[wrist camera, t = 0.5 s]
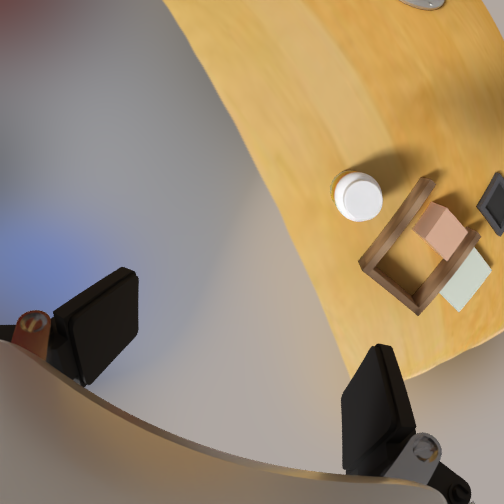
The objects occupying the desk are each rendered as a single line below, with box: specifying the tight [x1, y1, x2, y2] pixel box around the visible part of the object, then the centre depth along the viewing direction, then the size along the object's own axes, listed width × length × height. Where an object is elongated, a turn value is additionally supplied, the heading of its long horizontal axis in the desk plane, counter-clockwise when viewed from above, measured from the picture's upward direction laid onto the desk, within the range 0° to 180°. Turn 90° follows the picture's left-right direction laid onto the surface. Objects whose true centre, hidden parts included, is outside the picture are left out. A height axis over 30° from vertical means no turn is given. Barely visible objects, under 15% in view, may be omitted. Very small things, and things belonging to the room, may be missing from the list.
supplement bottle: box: [330, 170, 383, 222], centre depth 29 cm, size 5×5×10 cm
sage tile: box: [439, 247, 492, 312], centre depth 32 cm, size 9×8×2 cm
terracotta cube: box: [412, 202, 468, 261], centre depth 30 cm, size 5×5×5 cm
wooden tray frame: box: [358, 177, 481, 316], centre depth 32 cm, size 15×12×4 cm
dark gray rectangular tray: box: [476, 173, 504, 237], centre depth 27 cm, size 7×7×1 cm
